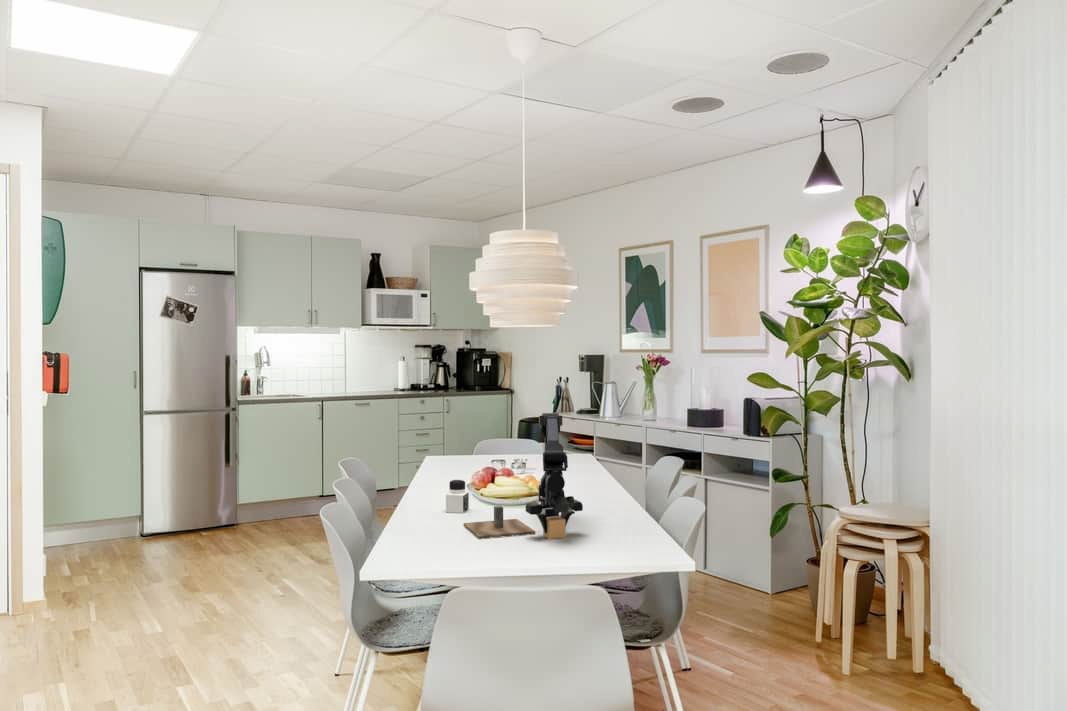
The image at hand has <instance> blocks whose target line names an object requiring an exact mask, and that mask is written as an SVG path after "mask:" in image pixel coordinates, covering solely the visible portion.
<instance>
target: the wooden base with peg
mask: <svg viewBox="0 0 1067 711" xmlns="http://www.w3.org/2000/svg"><path fill="white" fill-rule="evenodd" d="M463 527H464V528H465V529H467V530H468V531H469V532H470V533H471V534H472V535H473V536H475V537H476V539H479V540H481V539H482V538H485V539H491V538H490V537H496V538H502V537H501V536H507V537H513V536H512V535H519V536H524V535H523V534H530V535H536V530H535V529H533V528H531V527H530V526H528V525H527V524H525V523H524V522H523V521H521V520H520V519H518V518H512V519H511V518H510V519H504V507H503V506H502V505H497V506H496V505H495V506H493V520H487V521H471V522H464V523H463Z"/></svg>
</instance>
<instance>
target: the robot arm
mask: <svg viewBox="0 0 1067 711" xmlns="http://www.w3.org/2000/svg"><path fill="white" fill-rule="evenodd" d="M538 426H539V427H540V429H541V430H540V431H541V433H542V435H543V436H544V452H542V470H543V472H544V474H543V475H542V477H541V478H540V484H539V485H538V492H537V494H538V497H537V499H538V502H527V503H526V504H525V512H526V513H528V514H529V515H536V516H537V518H538V520H539V521H540V524H541V527H542V530H544V532H545V533H546V534H547V521H546V518H547V517H553V516H560V517H562V518H564V519H565V521H566V525H567V524H568V521H569V519H570V517H571V516H572V515H573V514H574V515H575V513H576V512H581V511H583V510H584V505H583V503H582V502H581V501H580V500H578V499H575V498H574V496H573V495H572V496H566V495H565V490H564V488H565V484H566V483H565V482H566V481H565V478H564V476H563V474H564V473H563V472H566V471H567V469H568V468H569V463H568V462H569V461H568V460H569V459H568V455H567V453H566V452H565V451H564V446H563V444H561V443H560V433H561V427H562V426H563V415H560V414H559V412H558V413H554V412H550V413H549V412H548V413H547V412H545V413H542V414H541V415H539V416H538ZM539 502H540V503H539Z"/></svg>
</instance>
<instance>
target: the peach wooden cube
mask: <svg viewBox="0 0 1067 711" xmlns="http://www.w3.org/2000/svg"><path fill="white" fill-rule="evenodd" d="M560 516H561V515H559V516H553V517H547V518H546V521H547V534H546V533H545V532H544V530H543V529H542V530H543V533H542V535H543V536H544V537H545V538H547V539H548V540H551V539H552V540H553V538H554V539H563V538H566V532H567V530H566V527H567V524H566V521H565V519H564V518H562V517H560Z"/></svg>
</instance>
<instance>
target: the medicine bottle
mask: <svg viewBox="0 0 1067 711" xmlns="http://www.w3.org/2000/svg"><path fill="white" fill-rule="evenodd" d="M469 493H470V492H469V491H467V490H466V482H465V480H463V479H453V480H452V479H451V480H450V481H449V492H448V493H446V494H445V512H446V513H447V512H449V514H450V513H451V514H465V513H466V512H467V511H468V510H469V509H470V508H469V507H470V506H469V499H470V498H469Z"/></svg>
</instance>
